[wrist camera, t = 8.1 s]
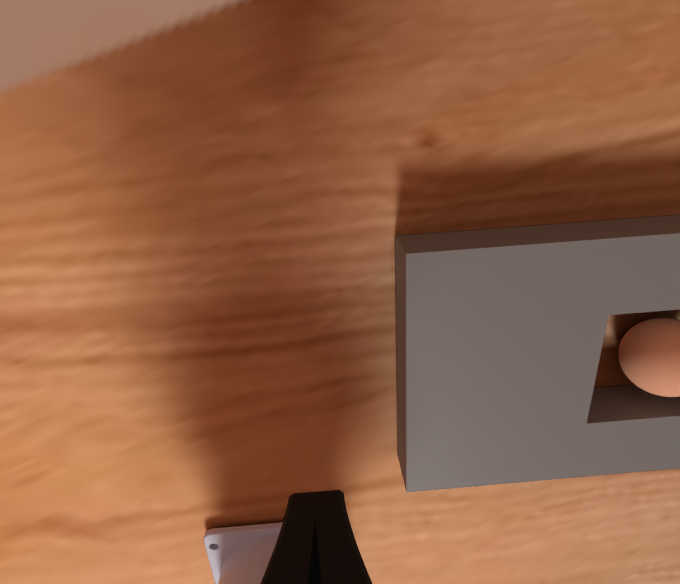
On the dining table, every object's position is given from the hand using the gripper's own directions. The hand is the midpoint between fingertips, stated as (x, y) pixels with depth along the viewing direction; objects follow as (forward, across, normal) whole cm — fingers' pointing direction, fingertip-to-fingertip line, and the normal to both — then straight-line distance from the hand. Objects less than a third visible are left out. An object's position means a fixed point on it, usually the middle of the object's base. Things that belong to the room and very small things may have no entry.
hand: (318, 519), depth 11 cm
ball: (+8, -16, +1) cm, 17 cm away
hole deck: (+9, -11, +1) cm, 15 cm away
